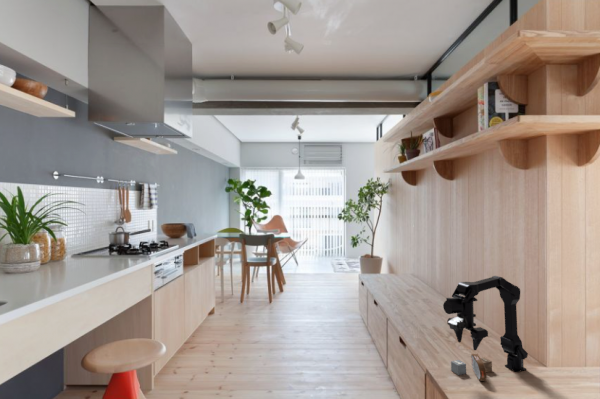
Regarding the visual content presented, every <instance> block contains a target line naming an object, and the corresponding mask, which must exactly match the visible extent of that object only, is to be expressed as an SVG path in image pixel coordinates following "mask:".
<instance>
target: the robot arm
mask: <svg viewBox="0 0 600 399" xmlns="http://www.w3.org/2000/svg"><path fill="white" fill-rule="evenodd" d="M493 288H495V289H497V290H498V291H499V297H500V299H501V300H502V302H503V308H504V309H503V310H504V334H503V336H500V337H499V338H500V343H499V344H500V345H501V348H502V349H503V353H504V354H505V353H506V356H507V358H506V364H504V367H506V368H507V369H510V370H512V371H513V372H516V373H519V372H522V371H523V372H524V371H526V370H527V368H526V367H524V360H526V359H527V358H528V351H526V350H525V349H524V348H523V343H522V342H523V341H522V340H521V338H520V337H519V334H518V315H517V312H518V310H517V304H518V302H519V301H520V298H521V289H520V287H519V286H517V285H515V284H513V283H511V282H509V281H508V280H507V279H506V278H504V277H501V276H498V275H493V276H491V277H487V278H484V279H480V280H477V281H460V282H458V284H457V286H456V287H455V289H454V291H453V293H452V295H451V297H446V298H445V299H446V300H445V301H444V302H443V304H442V308H443V310H444V312H445V313H446V315H453V314H456V316H454V317H449V318H448V319H447V325H448V326H449V329H451V330H453V332H454V334H455V337H456V338H457V342H458V343H462V339H463V333H464V329H466V330H467V331H469V332H470V337H471V339H472V346H473V351H477V349H478V347H479V346H480V344H481V342H483V339H484V338H487V337H489V331H488V330H487V329H485V328H484V327H480V326H478V327H476V326H477V324H476V323H475V322H474V321H475V320H474V319H475V318H476V316H477V315H476V314H475V313H474V312H475V310H474V302H477V301H478V299H477V298H476V296H478V294H480V292H483V291H486V290H490V289H493Z"/></svg>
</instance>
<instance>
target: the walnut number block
mask: <svg viewBox="0 0 600 399" xmlns="http://www.w3.org/2000/svg"><path fill="white" fill-rule="evenodd" d="M480 358H481V359H482V361H483V363H484V365H485V369H486V373H488V372H492V371H493V361H492V360H490V359H488V358H486V357H480Z"/></svg>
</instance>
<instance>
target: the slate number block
mask: <svg viewBox="0 0 600 399" xmlns="http://www.w3.org/2000/svg"><path fill="white" fill-rule="evenodd" d="M450 371H451V372H452V373H454V374H455V375H458V376H461V375H465V374H467V364H466V363H465V362H464V361H461V360H460V359H455V360H451V362H450Z"/></svg>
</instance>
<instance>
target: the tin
mask: <svg viewBox="0 0 600 399" xmlns="http://www.w3.org/2000/svg"><path fill="white" fill-rule="evenodd" d="M470 358H471V367H472V370H473V372H474V375H475V376H476V378H477V380H478V381H480V382H486V381H487V372H486V369H485V365H484V363H483V361H482V359H481V358H482V357H481V356H480V355H479V354H478V353H471V356H470Z"/></svg>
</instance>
